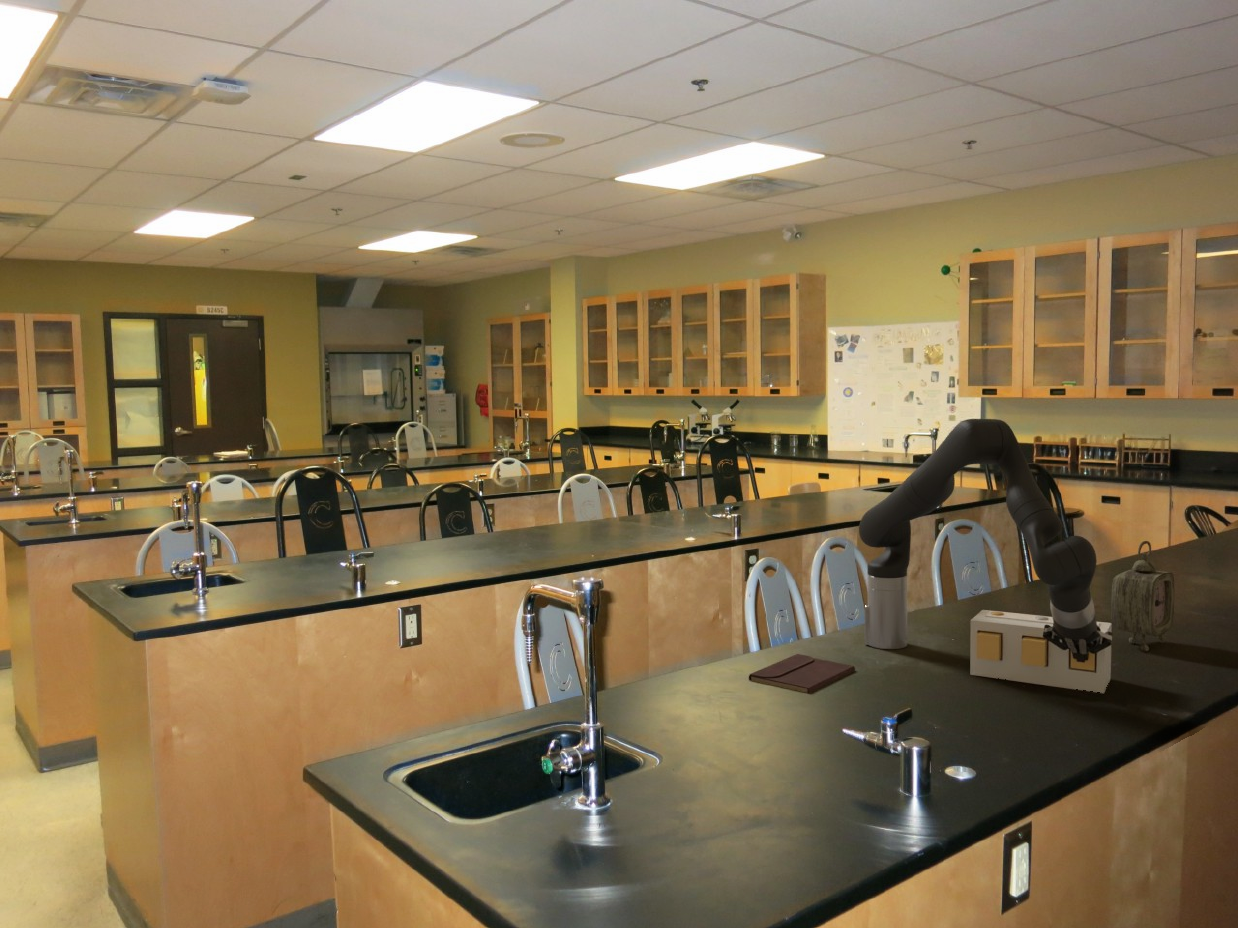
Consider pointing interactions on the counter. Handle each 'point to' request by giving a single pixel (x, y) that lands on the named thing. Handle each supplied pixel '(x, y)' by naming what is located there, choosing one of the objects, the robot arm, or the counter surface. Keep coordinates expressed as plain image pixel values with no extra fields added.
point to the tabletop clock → (1143, 600)
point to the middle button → (1034, 651)
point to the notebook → (802, 673)
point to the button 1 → (989, 645)
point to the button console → (1013, 669)
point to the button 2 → (1088, 664)
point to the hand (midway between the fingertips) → (1081, 658)
